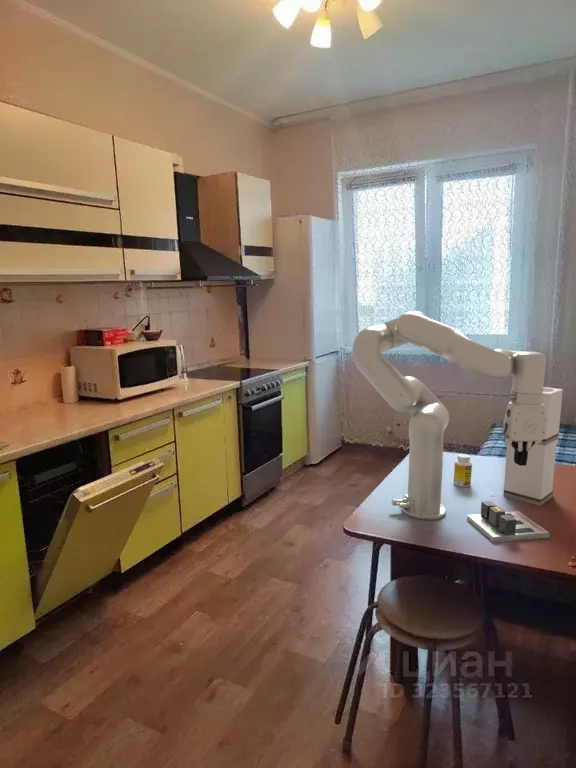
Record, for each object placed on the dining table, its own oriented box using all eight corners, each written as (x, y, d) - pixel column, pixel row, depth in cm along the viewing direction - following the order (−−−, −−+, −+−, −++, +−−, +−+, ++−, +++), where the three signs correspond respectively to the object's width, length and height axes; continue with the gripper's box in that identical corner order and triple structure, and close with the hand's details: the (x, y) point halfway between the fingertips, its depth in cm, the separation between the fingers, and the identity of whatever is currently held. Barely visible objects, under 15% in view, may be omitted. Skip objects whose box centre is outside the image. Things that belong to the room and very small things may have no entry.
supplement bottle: (465, 488, 175) (467, 459, 173) (450, 484, 179) (452, 455, 177) (473, 484, 179) (475, 455, 177) (458, 480, 183) (460, 452, 181)
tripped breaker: (494, 526, 143) (495, 511, 143) (488, 521, 146) (489, 506, 146) (504, 525, 144) (505, 510, 143) (498, 520, 147) (499, 506, 146)
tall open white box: (552, 496, 169) (562, 389, 162) (540, 506, 161) (549, 393, 155) (517, 487, 177) (525, 384, 171) (503, 495, 169) (511, 388, 163)
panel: (492, 542, 138) (494, 522, 137) (466, 519, 151) (468, 501, 151) (548, 537, 140) (550, 518, 139) (518, 516, 154) (519, 498, 153)
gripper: (508, 401, 135) (502, 469, 139) (561, 400, 138) (553, 467, 141) (492, 395, 142) (487, 460, 146) (543, 394, 145) (536, 458, 148)
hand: (520, 464), depth 143 cm, fingers closed
